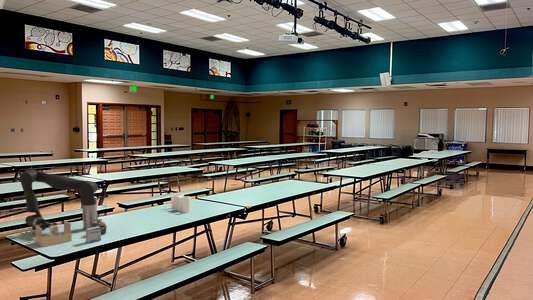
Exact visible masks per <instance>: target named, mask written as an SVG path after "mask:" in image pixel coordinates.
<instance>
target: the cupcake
mask: <svg viewBox="0 0 533 300" xmlns="http://www.w3.org/2000/svg"><path fill="white" fill-rule="evenodd" d="M97 226H98V227H100V228H101V236H104V235H106V233H107V229H108V226H107V224H106V222H105V221H104V220H103V219H102V218H98V220H94V223H92V227H97ZM92 227H91V228H92Z"/></svg>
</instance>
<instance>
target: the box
mask: <svg viewBox="0 0 533 300" xmlns="http://www.w3.org/2000/svg"><path fill="white" fill-rule="evenodd" d="M59 233H60V232H59V226H58V225H57V226H56V225H54V226H50V228H49V234H50V237H53V236H59Z"/></svg>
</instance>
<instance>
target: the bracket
mask: <svg viewBox="0 0 533 300" xmlns="http://www.w3.org/2000/svg"><path fill="white" fill-rule="evenodd" d="M191 200H192V197H191V196H188V195H187V196H185V195H184V194H183V193H174V194H170V201H171V202H170V204H171V206H170V207H171V209H174V211H178V212H182V214H187V213H191V212H192V205H191V204H192V201H191Z"/></svg>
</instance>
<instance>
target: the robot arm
mask: <svg viewBox="0 0 533 300" xmlns="http://www.w3.org/2000/svg"><path fill="white" fill-rule="evenodd" d="M19 180H20V183H21V188H22V191H23V193H24V197H25V203H26V211H27V213H31V215H28V216H26V217H25V220H24V221H25V224H26V225H27V226H29V227H31V230H32V231H33V232H34V231H35V232H36V225H37V226H39V227H40V228H41V229H42V231H44V230H46V229H50V226H54V225H56V226H58V223H57V222H55V221H52V222H49V221H48V220H46V219H45V218H44V217H43V215H42V214H41V211H40V208H39V201H38V198H37V196H36V194H35V192H34V190H33V183H43V184H46V185H47V186H49V187H51V188H53V189H57V190H65V191H70V190H71V191H72V190H73V191H74V190H76V191H79V192H80V193H79V194H80V201H81V203H82V209H81V210H82V226H83V227H82V228H83V230H85V229H87V228H91V227H92V223H94V220H99V214H98V206H97V205H98V203H97V202H98V201H97V199H96V198H95V193H96V192H98V190H99V186H98V184H97V183H96V182H95V181H91V180H83V179H82V180H81V179H77V178H74V177H68V176H64V175H61V174H60V175H59V174H58V175H57V174H53V173H47V172H43V171H41V170H40V171H39V170H37V169H33V168H32V169H28V170H24V171H22V172H21V173H20V174H19ZM32 213H35V214H32Z"/></svg>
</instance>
